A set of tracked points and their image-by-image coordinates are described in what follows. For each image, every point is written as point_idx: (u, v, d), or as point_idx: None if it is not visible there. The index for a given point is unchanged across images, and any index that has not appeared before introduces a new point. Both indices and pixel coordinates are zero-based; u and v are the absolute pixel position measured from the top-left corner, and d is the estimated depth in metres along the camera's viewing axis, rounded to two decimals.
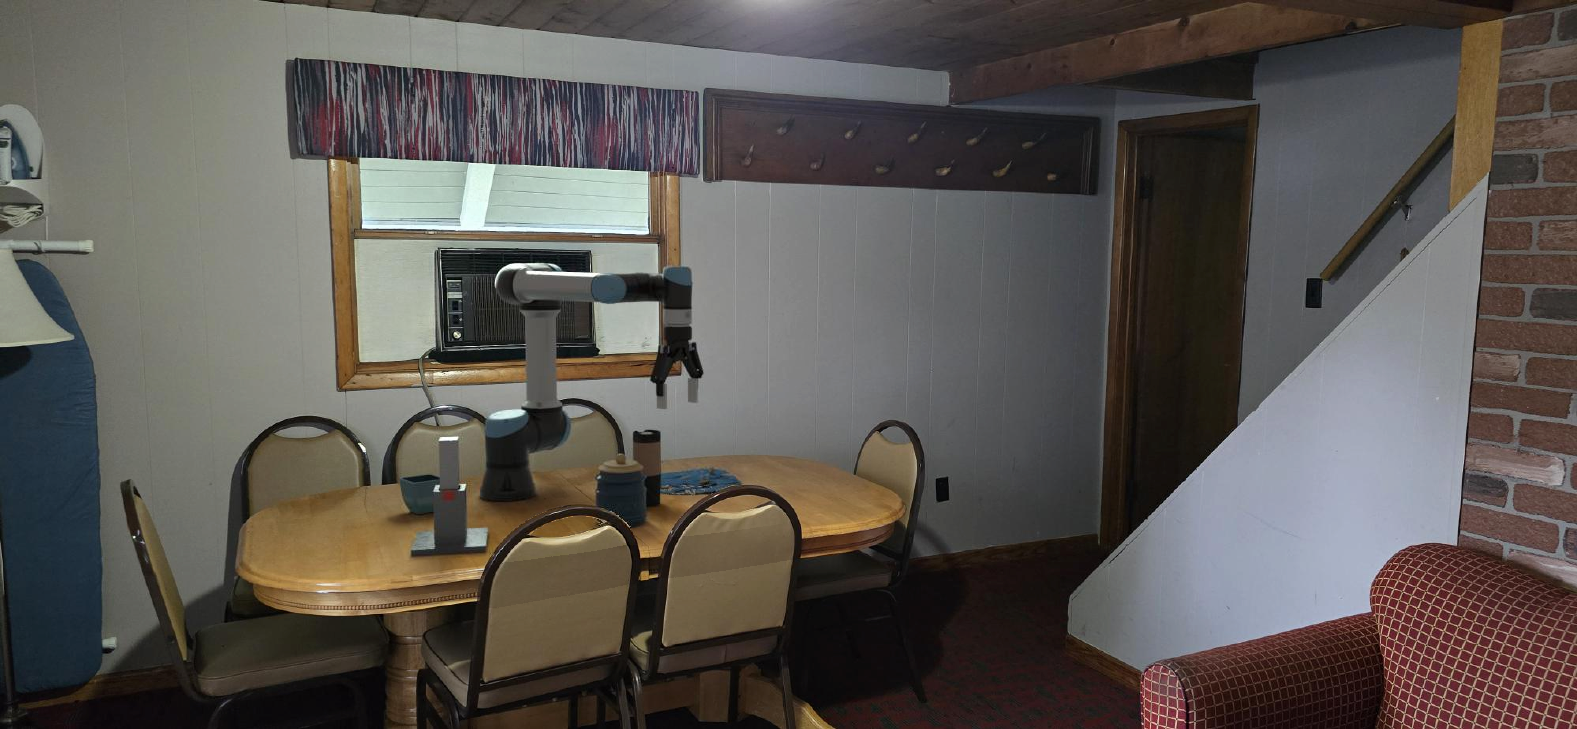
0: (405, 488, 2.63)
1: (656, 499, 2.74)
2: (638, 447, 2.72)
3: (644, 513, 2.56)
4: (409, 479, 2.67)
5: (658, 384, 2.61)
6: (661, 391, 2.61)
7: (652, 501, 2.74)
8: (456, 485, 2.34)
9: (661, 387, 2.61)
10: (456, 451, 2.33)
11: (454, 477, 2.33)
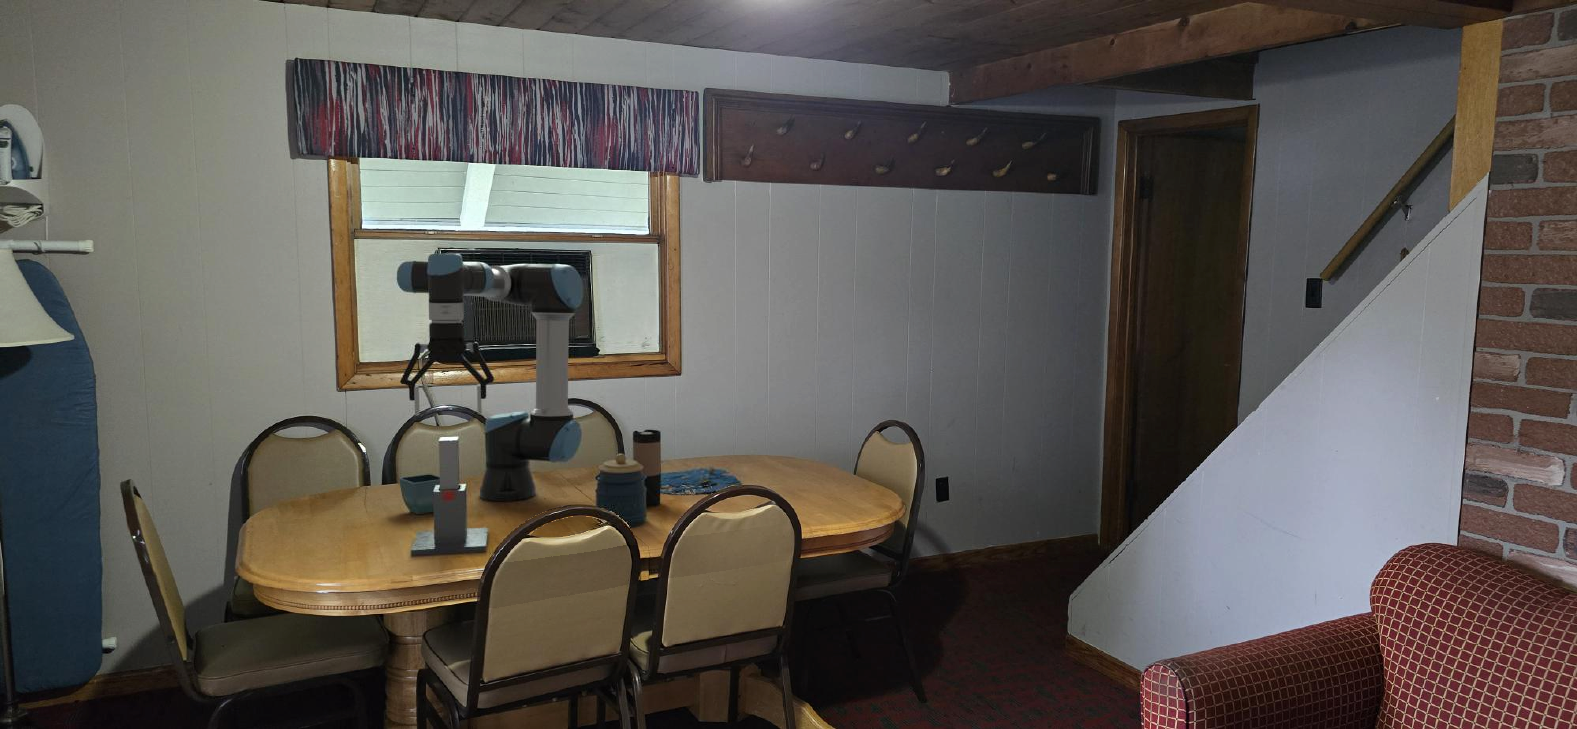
0: (405, 488, 2.63)
1: (656, 499, 2.74)
2: (638, 447, 2.72)
3: (644, 513, 2.56)
4: (409, 479, 2.67)
5: None
6: (411, 395, 2.30)
7: (652, 501, 2.74)
8: (456, 485, 2.34)
9: (411, 390, 2.30)
10: (456, 451, 2.33)
11: (454, 477, 2.33)
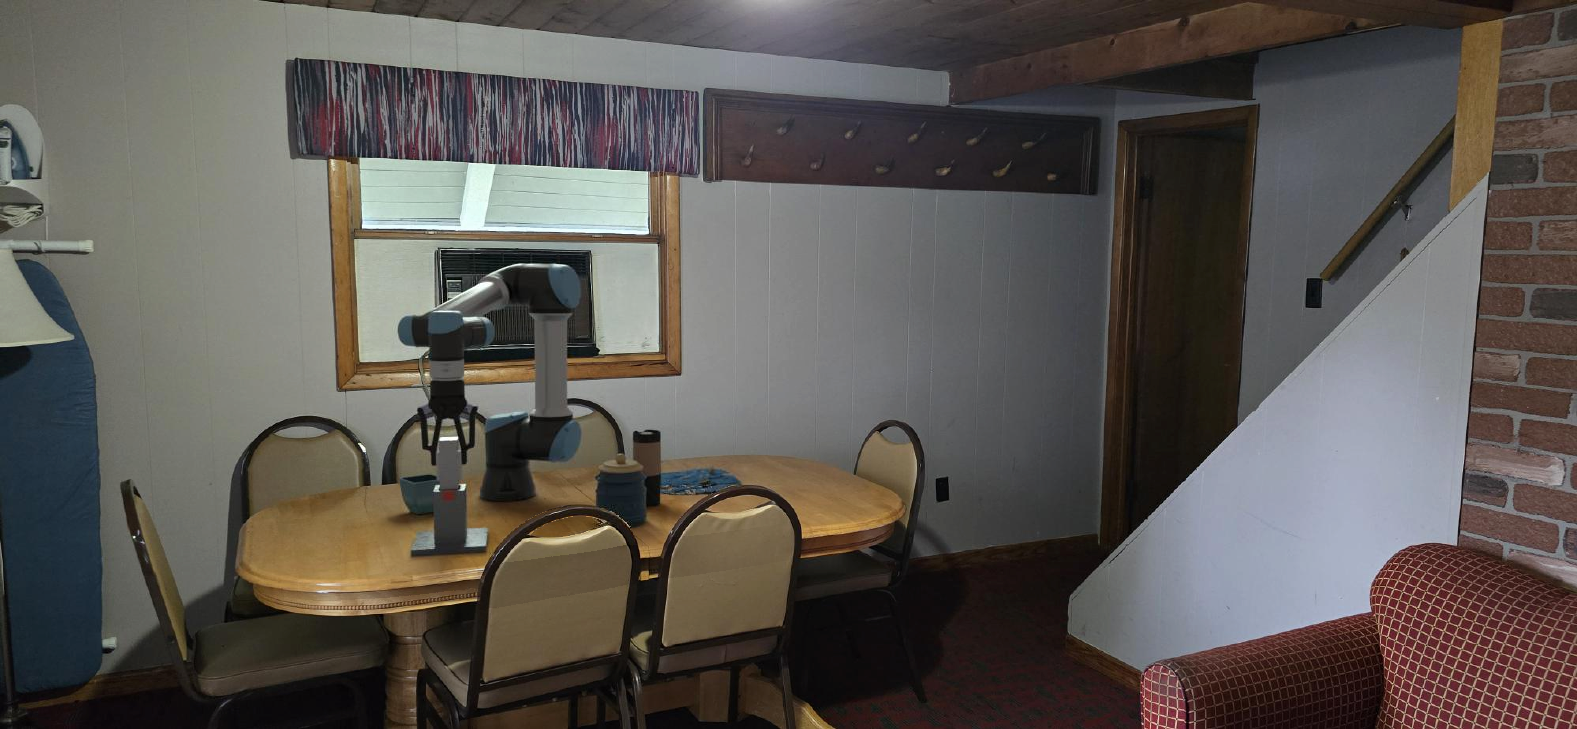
0: (405, 488, 2.63)
1: (656, 499, 2.74)
2: (638, 447, 2.72)
3: (644, 513, 2.56)
4: (409, 479, 2.67)
5: None
6: (433, 460, 2.33)
7: (652, 501, 2.74)
8: (456, 485, 2.34)
9: (433, 455, 2.33)
10: (456, 451, 2.33)
11: (454, 477, 2.33)
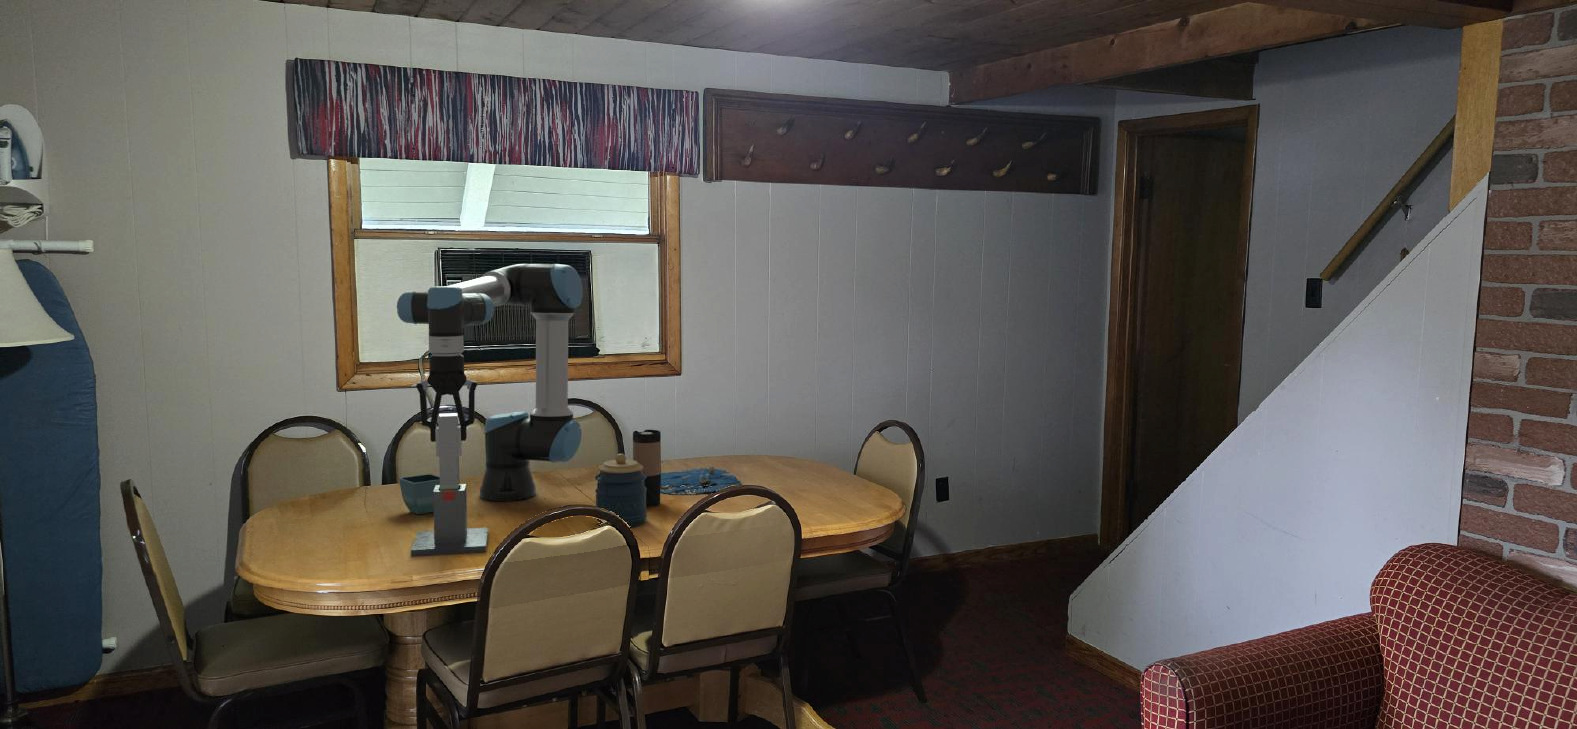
0: (405, 488, 2.63)
1: (656, 499, 2.74)
2: (638, 447, 2.72)
3: (644, 513, 2.56)
4: (409, 479, 2.67)
5: None
6: (433, 436, 2.32)
7: (652, 501, 2.74)
8: (455, 461, 2.33)
9: (432, 431, 2.32)
10: (455, 427, 2.32)
11: (453, 453, 2.33)
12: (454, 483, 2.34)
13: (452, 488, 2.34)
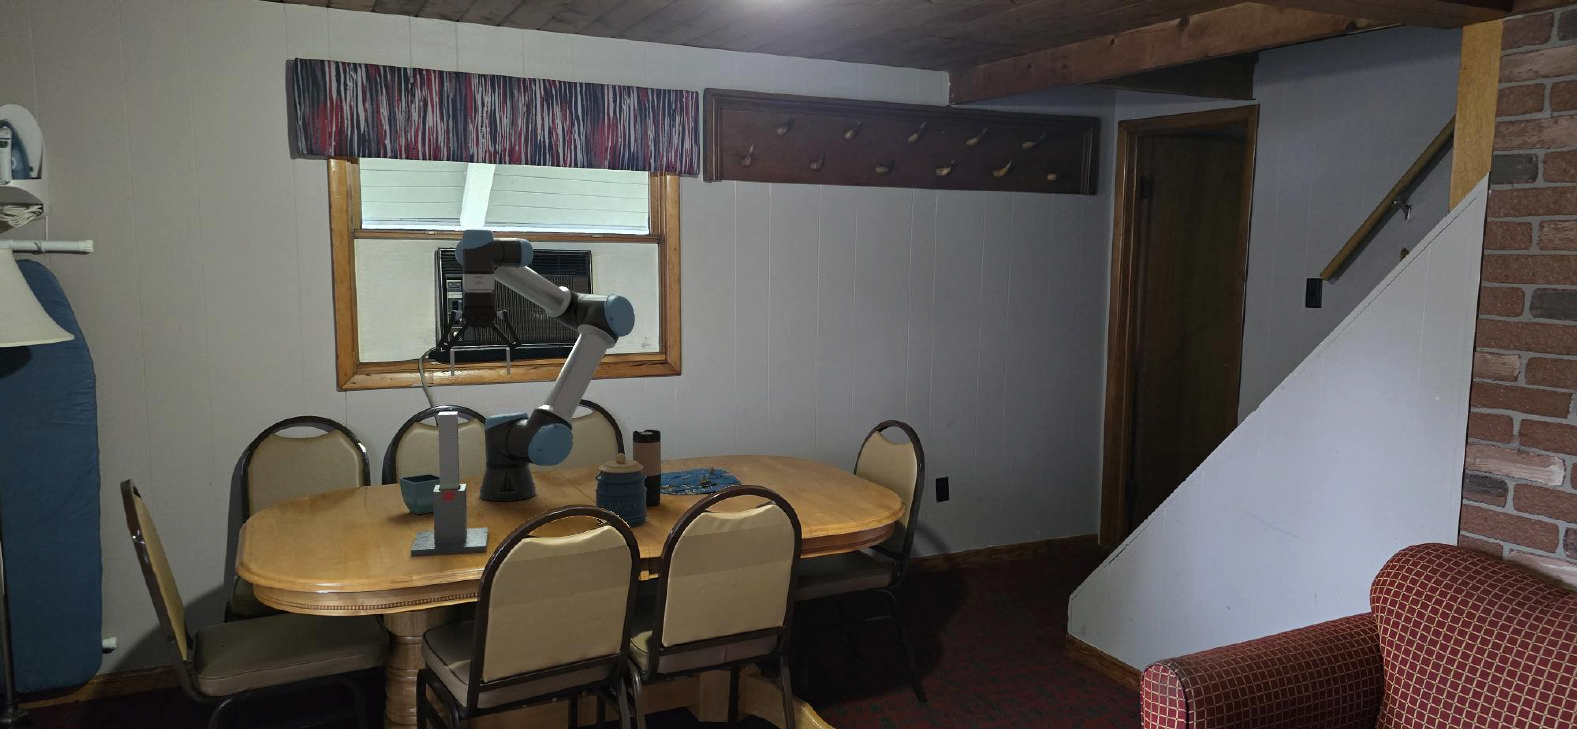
0: (405, 488, 2.63)
1: (656, 499, 2.74)
2: (638, 447, 2.72)
3: (644, 513, 2.56)
4: (409, 479, 2.67)
5: None
6: (448, 357, 2.55)
7: (652, 501, 2.74)
8: (455, 459, 2.33)
9: (447, 353, 2.55)
10: (455, 425, 2.32)
11: (453, 452, 2.33)
12: (454, 481, 2.33)
13: (452, 486, 2.33)
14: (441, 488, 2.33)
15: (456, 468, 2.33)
